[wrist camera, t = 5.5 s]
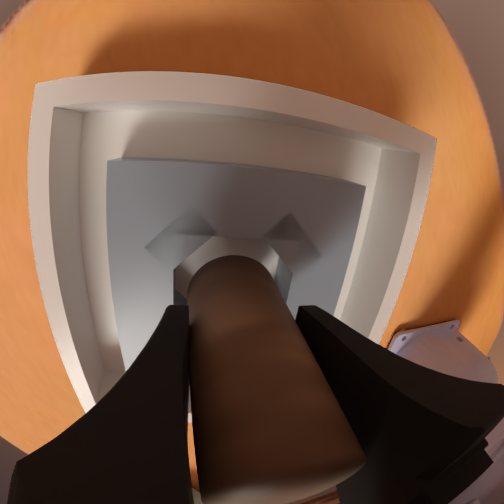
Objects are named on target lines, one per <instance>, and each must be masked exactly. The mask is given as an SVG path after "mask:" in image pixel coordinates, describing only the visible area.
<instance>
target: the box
mask: <svg viewBox="0 0 504 504" xmlns="http://www.w3.org/2000/svg"><path fill="white" fill-rule="evenodd" d="M436 142H437V138H435V137H433V136H431V135H429V134H427V133H425V132H423V131H421V130H418V129H416V128H414V127H412V126H410V125H407V124H405V123H403V122H400V121H398V120H396V119H393V118H391V117H388V116H386V115H383V114H380V113H378V112H375V111H372V110H370V109H367V108H364V107H361V106H358V105H355V104H352V103H349V102H346V101H343V100H340V99H336V98H333V97H330V96H326V95H323V94H319V93H315V92H311V91H307V90H303V89H299V88H295V87H291V86H286V85H281V84H276V83H271V82H266V81H260V80H254V79H248V78H241V77H234V76H226V75H217V74H207V73H194V72H174V71H132V72H113V73H101V74H91V75H82V76H75V77H68V78H62V79H56V80H51V81H46V82H41V83H36V86H35V91H34V97H33V104H32V112H31V120H30V130H29V144H28V202H29V216H30V227H31V236H32V244H33V250H34V257H35V263H36V268H37V274H38V279H39V283H40V288H41V292H42V296H43V301H44V305H45V308H46V312H47V316H48V319H49V323H50V326H51V329H52V332H53V336H54V339H55V342H56V345H57V347H58V350H59V353H60V356H61V359H62V361H63V364H64V366H65V369H66V371H67V374H68V376H69V379H70V381H71V383H72V386H73V388H74V390H75V392H76V395H77V397H78V399H79V401H80V403H81V405H82V407H83V409H84V411H85V413H87V412H88V411H89V410H90V409H91V408H92V407H93V406H94V405H95V404H96V403H97V402H98V401H99V400H100V399H101V398H102V397H103V396H104V395H105V394H106V393H107V392H108V391H109V390H110V389H111V388H112V387H113V386H114V385H115V384H116V383H117V381H118V380H119V379H120V378H121V377H122V376H123V375H124V373H125V372H126V371H127V370H128V368H129V367H130V366H131V365H132V363H133V362H134V360H135V359H136V358H137V356H138V355H139V354H140V352H141V351H142V349H143V348H144V347H145V345H146V343H147V342H148V340H149V339H150V337H151V336H152V334H153V332H154V331H155V329H156V327H157V326H158V324H159V322H160V320H161V318H162V316H163V314H164V312H165V309H166V307H168V306H169V305H187V292H188V286H189V283H190V281H191V279H192V277H193V275H194V274H195V273H196V272H197V270H198V269H200V268H201V267H202V266H203V265H204V264H206V263H207V262H209V261H211V260H213V259H216V258H218V257H222V256H228V255H241V256H246V257H250V258H252V259H255V260H256V261H258V262H260V263H261V264H262V265H264V266H265V267H266V268H267V270H268V271H269V272H270V274H271V276H272V278H273V280H274V282H275V284H276V285H277V287H278V289H279V291H280V293H281V295H282V297H283V299H284V301H285V302H286V304H287V306H288V308H289V310H290V312H291V314H292V316H293V318H294V319H296V315H297V311H298V307H299V306H305V305H316V306H317V307H319V308H321V309H323V310H325V311H326V312H328V313H329V314H331V315H332V316H334V317H336V318H337V319H339V320H340V321H342V322H343V323H345V324H346V325H348V326H349V327H351V328H352V329H354V330H356V331H357V332H359V333H360V334H362V335H363V336H365V337H367V338H368V339H370V340H372V341H373V342H375V343H377V344H379V342H380V340H381V338H382V336H383V333H384V331H385V329H386V326H387V324H388V322H389V319H390V317H391V314H392V312H393V309H394V307H395V304H396V302H397V299H398V296H399V294H400V291H401V288H402V285H403V282H404V280H405V277H406V274H407V271H408V268H409V264H410V261H411V258H412V255H413V251H414V248H415V245H416V241H417V238H418V234H419V230H420V226H421V222H422V218H423V214H424V210H425V206H426V201H427V196H428V192H429V187H430V181H431V176H432V170H433V164H434V157H435V150H436ZM188 423H192V414H191V400H190V384H189V405H188Z"/></svg>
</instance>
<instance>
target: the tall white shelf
mask: <svg viewBox="0 0 504 504" xmlns="http://www.w3.org/2000/svg"><path fill="white" fill-rule="evenodd" d="M286 504H340V502H339V497H338V492H337V488H336V485H335V486H333V487H331V488H329V489H327V490H325V491H322V492H320V493H317V494H315V495H312V496H309V497H307V498H304V499H300V500H297V501H294V502H290V503H286Z"/></svg>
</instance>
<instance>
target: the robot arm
mask: <svg viewBox="0 0 504 504" xmlns="http://www.w3.org/2000/svg"><path fill="white" fill-rule="evenodd" d="M295 321H296V323H297V325H298V327H299V329H300V331H301V333H302V335H303V337H304V338H305V340H306V342H307V344H308V346H309V348H310V350H311V352H312V354H313V356H314V357H315V359H316V361H317V363H318V365H319V367H320V369H321V371H322V373H323V375H324V377H325V378H326V380H327V382H328V384H329V386H330V388H331V390H332V392H333V394H334V396H335V398H336V400H337V401H338V403H339V405H340V407H341V409H342V411H343V413H344V415H345V417H346V419H347V421H348V423H349V425H350V427H351V428H352V430H353V432H354V434H355V436H356V438H357V440H358V442H359V444H360V446H361V448H362V450H363V452H364V454H365V456H366V458H367V461H366V463H365V464H364V465H363V467H362V468H361V469H359V470H358V471H357V472H356V473H355V474H353V475H352V476H350V477H349V478H347V479H346V480H344V481H342V482H341V483H339V484H337V485H336V488H337V492H338V497H339V502H340V504H504V386H503V385H502V384H498V377H497V372H496V369H495V367H494V365H493V364H492V363H491V361H490V360H489V359H488V358H487V357H486V356H485V355H484V354H483V353H482V352H481V351H479V350H478V349H477V348H476V347H475V346H474V345H473V344H472V343H471V342H470V341H469V340H468V339H466V338H465V337H464V336H463V335H462V334H461V333H460V332H459V331H458V330H457V329H458V327H459V325H460V321H459V320H458V319H457V320H453V321H448V322H444V323H440V324H435V325H431V326H426V327H421V328H416V329H411V330H405V331H400V332H397V333H396V334H395V335H394V337H393V339H392V341H391V343H390V345H389V347H388V349H386V348H384V347H382V346H380V345H378V344H377V343H375V342H373V341H372V340H370V339H368V338H367V337H365V336H363V335H362V334H360V333H359V332H357V331H356V330H354V329H352V328H351V327H349V326H348V325H346V324H345V323H343V322H342V321H340V320H339V319H337V318H336V317H334V316H332V315H331V314H329V313H328V312H326V311H325V310H323V309H321V308H319V307H317V306H316V305H305V306H299V307H298V311H297V315H296V319H295ZM189 384H190V383H189V305H169V306H168V307H166V309H165V312H164V314H163V316H162V318H161V320H160V322H159V324H158V326H157V327H156V329H155V331H154V332H153V334H152V336H151V337H150V339H149V340H148V342H147V343H146V345H145V347H144V348H143V349H142V351H141V352H140V354H139V355H138V356H137V358H136V359H135V360H134V362H133V363H132V365H131V366H130V367H129V368H128V370H127V371H126V372H125V373H124V375H123V376H122V377H121V378H120V379H119V380H118V381H117V383H116V384H115V385H114V386H113V387H112V388H111V389H110V390H109V391H108V392H107V393H106V394H105V395H104V396H103V397H102V398H101V399H100V400H99V401H98V402H97V403H96V404H95V405H94V406H93V407H92V408H91V409H90V410H89V411H88V412H87V413H86V414H85V415H83V416H82V417H81V418H80V419H78V420H77V421H76V422H75V423H74V424H72V425H71V426H70V427H69V428H67V429H66V430H65V431H64V432H62V433H61V434H60V435H58V436H57V437H56V438H54V439H53V440H51V441H50V442H48V443H47V444H45V445H44V446H42V447H40V448H39V449H37V450H36V451H34V452H32V453H31V454H29V455H28V456H26V457H24V458H22V459H21V460H19V461H17V462H16V465H15V469H14V471H13V474H12V477H11V483H10V488H9V494H8V501H7V504H194V499H193V492H192V484H191V476H190V467H189V457H188V441H187V433H188V405H189Z"/></svg>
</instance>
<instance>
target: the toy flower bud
mask: <svg viewBox="0 0 504 504" xmlns="http://www.w3.org/2000/svg"><path fill="white" fill-rule="evenodd" d="M192 492H193V499H194V504H203V503H202V501H201V495H200V492H198V491H197V490H195V489H194V488H192Z"/></svg>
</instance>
